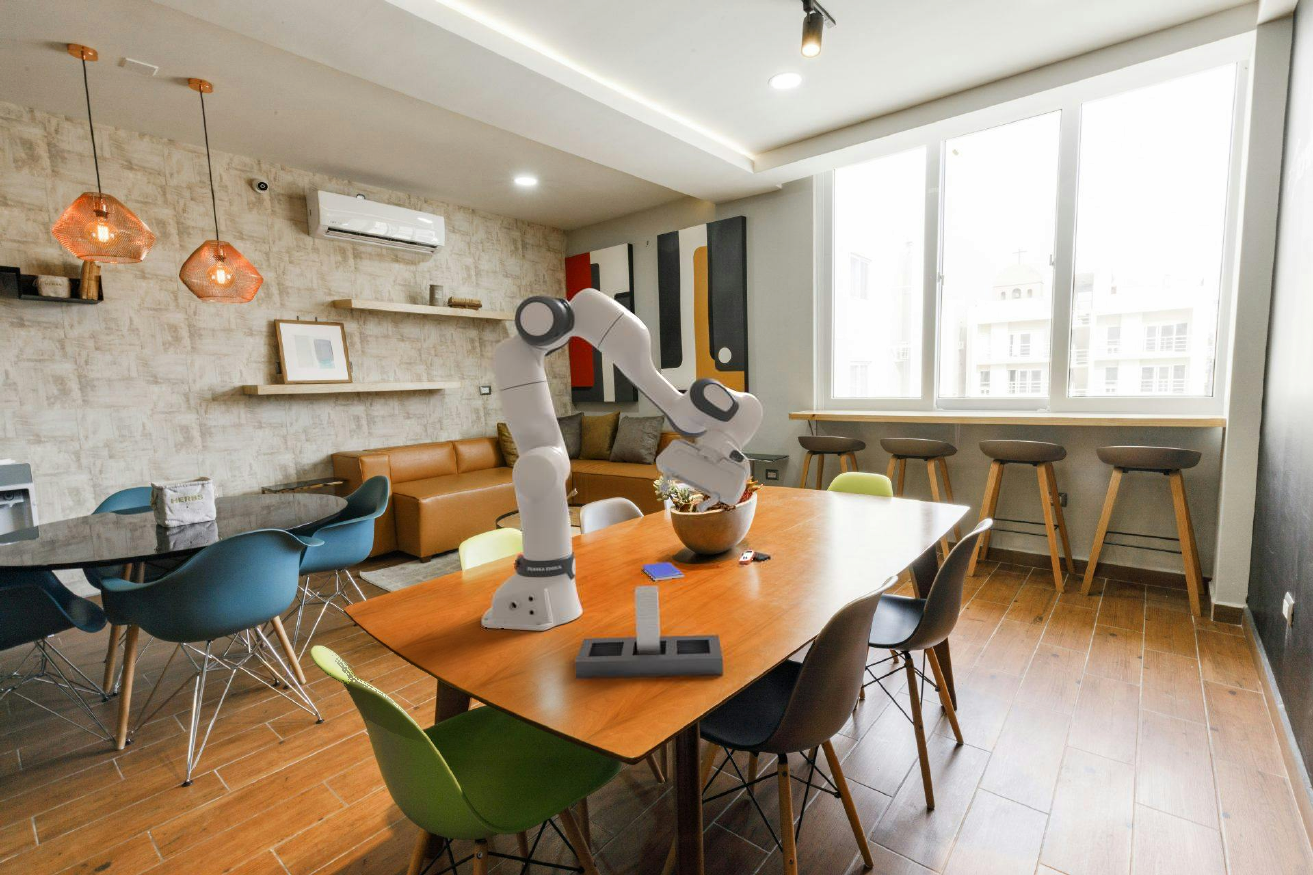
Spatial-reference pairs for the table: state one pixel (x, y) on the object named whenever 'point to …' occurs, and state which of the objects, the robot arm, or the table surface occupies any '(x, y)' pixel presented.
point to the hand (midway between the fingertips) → (680, 500)
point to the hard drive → (662, 571)
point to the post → (647, 620)
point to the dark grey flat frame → (649, 657)
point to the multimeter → (752, 557)
